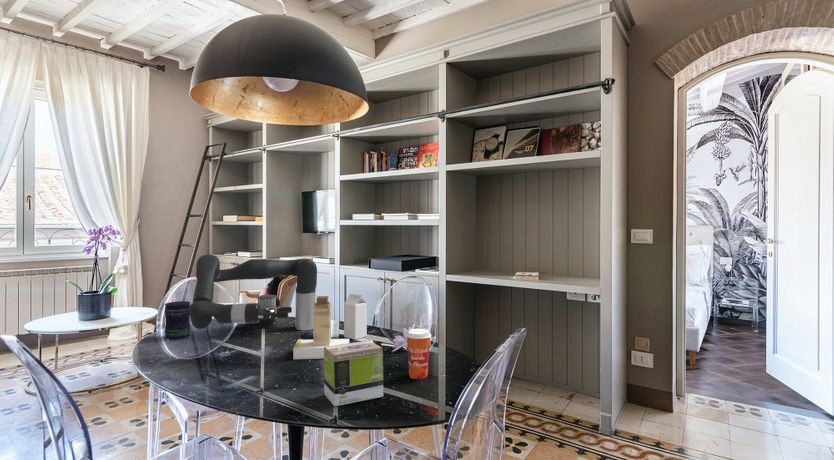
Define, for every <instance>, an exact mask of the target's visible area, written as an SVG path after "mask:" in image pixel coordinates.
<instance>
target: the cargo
mask: <svg viewBox="0 0 834 460" xmlns="http://www.w3.org/2000/svg"><path fill="white" fill-rule="evenodd" d="M316 302H317V305H328V302H329V295H321V296H320V295H319V296H318V295H317V296H316Z"/></svg>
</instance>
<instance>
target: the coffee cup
mask: <svg viewBox="0 0 834 460" xmlns="http://www.w3.org/2000/svg"><path fill="white" fill-rule="evenodd" d="M406 336H407V343H406V345H407V356H408V357H407V361H408V376H409V378H410V379H413V380H425V379H426V378H428V372H429V356H430V341H431V340H430V339H431V337H432V334H431V332H430V330H428V329H425V328H414V329H411V330H409V331H408V333H407V334H406Z"/></svg>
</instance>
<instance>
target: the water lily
mask: <svg viewBox="0 0 834 460" xmlns="http://www.w3.org/2000/svg"><path fill="white" fill-rule="evenodd" d="M415 325H416V323H413V324H412V326H409V327H408V329H407V328H404V327H403V329H402V335H395V336H394V338H395V340H393V342H394V344H393V345H392V347H391V348H394V349H392V350H391V353H394V352H396V351H398V350H400V349H401V348H402V347H403V346H405V345H407V336H406V334H407V333H408V331H409V330H411V329H415Z"/></svg>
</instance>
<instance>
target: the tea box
mask: <svg viewBox="0 0 834 460" xmlns="http://www.w3.org/2000/svg"><path fill="white" fill-rule="evenodd" d="M323 376H324V377H323V379H324V380H323V382H324V383H323V385H324V386H323V387H324V388H323V389H324V395H325V397H326V398H327V400H329V402H330V403H331V404H332V406H333V407H339V406H343V405H349V404H353V403H358V402H362V401H368V400H374V399H378V398H383V397H384V353H383V347H381V346H380V345H378V344H376V343H375V342H373V341H371V340H363V341H355V342H349V343H347V344H340V345H334V346H327V347H324V358H323Z"/></svg>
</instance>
